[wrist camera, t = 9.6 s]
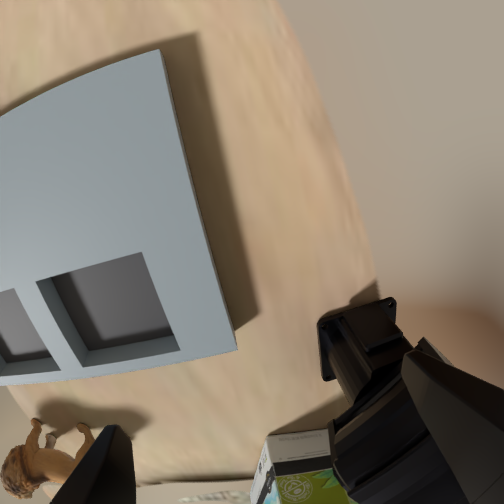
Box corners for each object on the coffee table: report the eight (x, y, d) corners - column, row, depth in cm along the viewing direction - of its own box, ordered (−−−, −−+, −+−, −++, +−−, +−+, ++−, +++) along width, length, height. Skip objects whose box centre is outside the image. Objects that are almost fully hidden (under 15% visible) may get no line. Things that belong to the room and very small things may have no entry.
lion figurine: (34, 444, 25) (17, 504, 17) (7, 415, 23) (-16, 478, 15) (140, 445, 26) (136, 522, 18) (117, 414, 24) (105, 500, 16)
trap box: (234, 331, 22) (237, 350, 20) (-9, 372, 20) (-17, 386, 19) (163, 56, 14) (159, 48, 13) (-92, 193, 13) (-106, 200, 11)
